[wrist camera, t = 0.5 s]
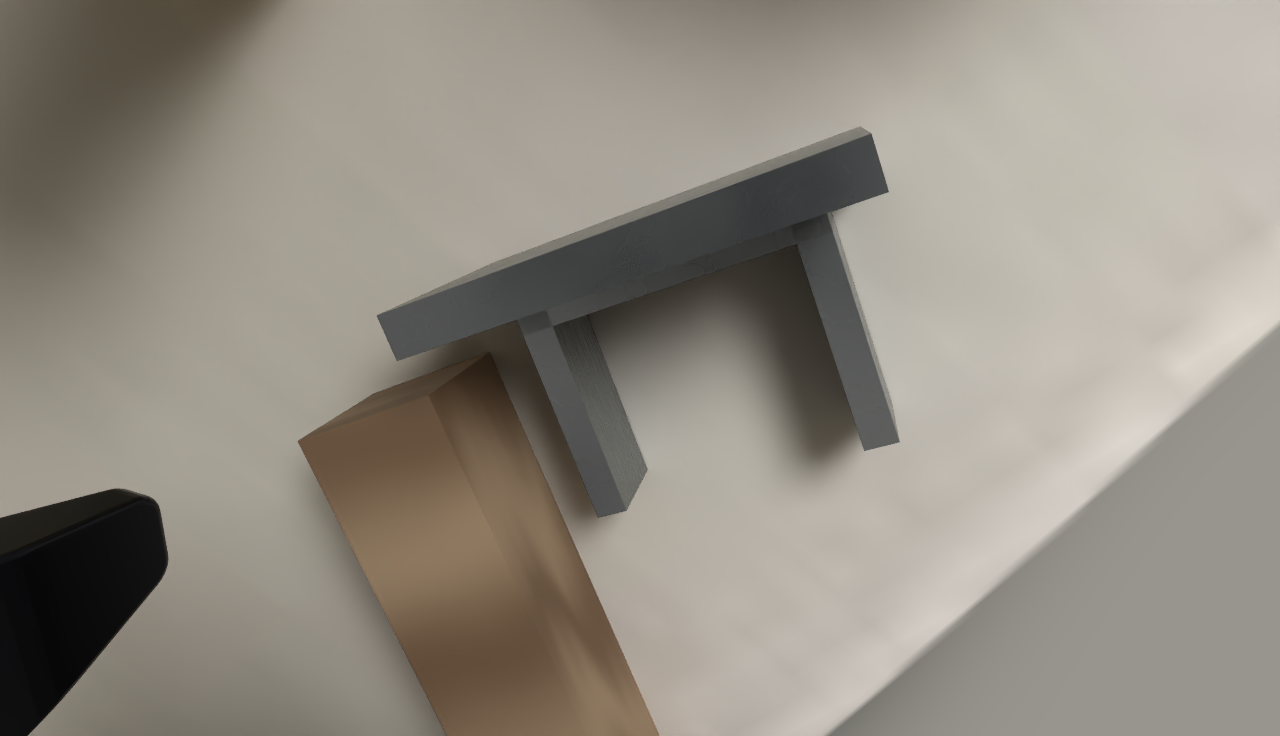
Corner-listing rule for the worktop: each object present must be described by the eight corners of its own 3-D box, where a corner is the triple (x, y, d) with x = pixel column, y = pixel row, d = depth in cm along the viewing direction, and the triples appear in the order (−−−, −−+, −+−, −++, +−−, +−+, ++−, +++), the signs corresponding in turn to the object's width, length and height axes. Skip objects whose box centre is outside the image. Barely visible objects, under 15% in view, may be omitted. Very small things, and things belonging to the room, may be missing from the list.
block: (671, 752, 26) (644, 860, 22) (561, 771, 27) (518, 876, 24) (493, 349, 23) (428, 394, 20) (379, 390, 24) (297, 441, 21)
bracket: (583, 487, 24) (506, 604, 18) (492, 263, 22) (376, 315, 17) (940, 392, 20) (980, 497, 15) (860, 126, 19) (871, 133, 14)
